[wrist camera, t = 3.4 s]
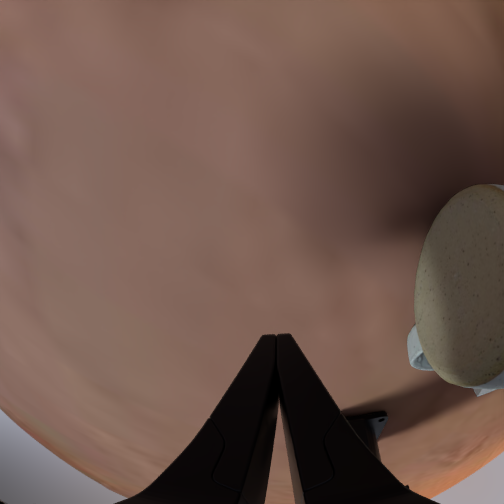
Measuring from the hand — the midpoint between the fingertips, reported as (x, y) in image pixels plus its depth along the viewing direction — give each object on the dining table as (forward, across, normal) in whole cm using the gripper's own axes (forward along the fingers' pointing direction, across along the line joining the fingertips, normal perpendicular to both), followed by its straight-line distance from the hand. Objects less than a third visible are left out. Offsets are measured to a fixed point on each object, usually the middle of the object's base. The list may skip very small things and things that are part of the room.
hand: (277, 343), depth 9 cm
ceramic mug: (+4, -10, +1) cm, 11 cm away
